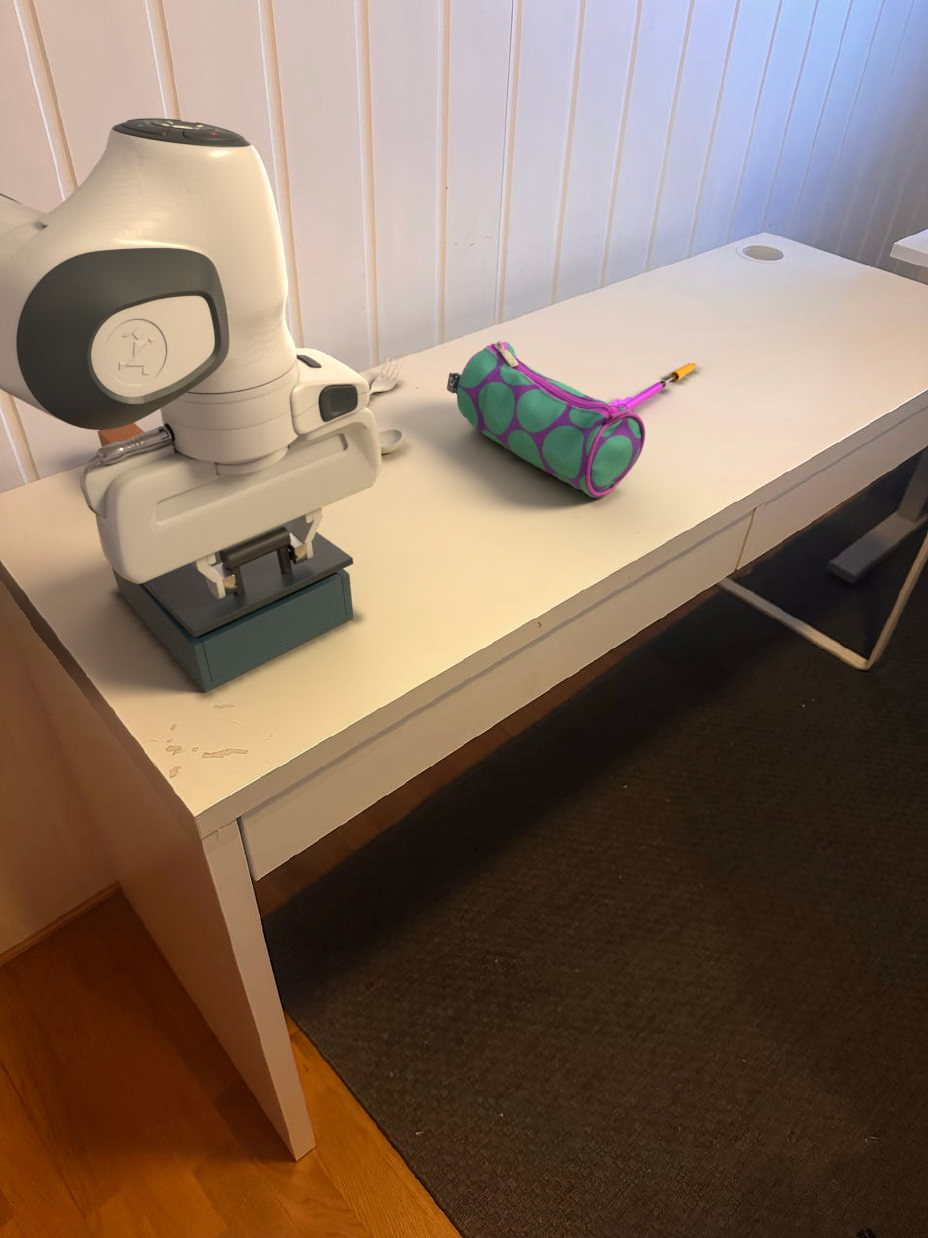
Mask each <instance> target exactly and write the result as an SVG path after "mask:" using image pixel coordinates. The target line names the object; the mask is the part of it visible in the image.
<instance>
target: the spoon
mask: <svg viewBox="0 0 928 1238" xmlns="http://www.w3.org/2000/svg"><path fill="white" fill-rule="evenodd" d="M378 433H379V440H380V447H381V455H382V454H383V455H384V454H389V453H392V452H394V451H396V450H397V449H399V448H400V447H401V446H402V445H403V443H404V440H405V437H404V436H405V435H404V433H403V432H402V431H401V430H399V429H393V428H392V429H391V428H390V429H385V430H382V431H380V432H378Z"/></svg>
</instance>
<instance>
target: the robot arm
mask: <svg viewBox="0 0 928 1238" xmlns="http://www.w3.org/2000/svg"><path fill="white" fill-rule="evenodd" d="M278 215H279V214H278V210H277V206H276V202H275V197H274V193H273V190H272V186H271V183H270V179H269V176H268V173H267V171H266V167H265V165H264V163H263V161H262V158H261V157H260V154H259V153H258V151H257V149H256V148H255V146H254V145H253V144H252V143H251V142H249V141H248V140H247V139H246V138H245V137H244V136H243V135H241V134H239V133H237V132H235V131H231V130H229V129H226V128H223V127H221V126H216V125H211V124H207V123H203V122H198V121H196V122H191V121H185V120H181V119H176V118H175V119H174V118H159V117H158V118H157V117H149V118H148V117H146V118H143V117H141V118H132V119H128V120H126V121H125V122H121V123H118V124H115V125H113V127H111V129H110V130H109V133H108V138H107V143H106V146H105V149H104V151H103V153H102V155H101V157H100V158H99V160H98V161H97V163H96V164H95V165H94V167H93V168H92V170H91V171H90V172H89V174H88V176H87V177H86V178H85V179H84V180H83V182H81V184H80V185H79V186H78V187H77V188H76V189H75V190H74V191H73V193H71V194H70V195H68V197H67V198H66V199H65V200H64V201H63V202H61V203H60V204H59V205H57V206H56V207H55V208H53V209H52V210H50V212H48V213H47V212H44V211H41V210H39V209H35V208H34V207H30V206H27V205H25V204H23V203H21V202H19V201H18V200H15V199H14V198H12V197H10V196H7V195H5V194H3V193H1V192H0V390H1V391H2V392H5V393H7V394H9V395H10V396H12V397H14V398H16V399H18V400H20V401H22V402H23V403H26V404H27V405H29V406H31V407H33V408H34V409H36V410H38V411H40V412H43V413H44V414H46V415H48V416H50V417H52V418H54V419H57V420H58V421H62V422H64V423H66V424H67V425H71V426H73V427H77V428H80V429H84V430H91V431H99V430H109V429H116V428H120V427H124V426H127V425H130V424H132V423H136V422H138V421H140V420H143V419H145V418H146V417H148V416H150V415H152V414H153V413H155V412H156V411H158V410H159V412H160V416H161V420H162V424H163V425H161V426H158V427H155V428H153V429H149V430H146V431H144V432H143V433H141V434H139V435H136V436H134V437H132V438H130V439H128V440H125V441H122V442H119V443H118V442H114V443H110V444H108V445H105V446H103V447H102V446H101V447H99V448H98V449H96V455H95V456H93V457H92V458H91V459H89V460H88V461H87V462H86V464H85V465H84V466H83V469H82V470H81V472H80V475H79V482H80V487H81V490H82V494H83V498H84V500H85V502H86V505H87V507H88V508H89V509H90V510H91V512H92V513H94V514H95V522H96V527H97V532H98V536H99V537H98V538H99V542H100V546H101V549H102V553H103V555H104V557H105V559H106V560H107V563H109V565H110V567H111V568H112V567H113V568H114V570H115V571H116V572H117V573H118V574H119V575H120V576H121V577H123V578H125V579H127V580H129V581H131V582H133V583H136V584H141V583H144V582H147V581H149V580H151V579H154V578H156V577H159V576H161V575H163V574H166V573H168V572H170V571H173V570H175V569H177V568H180V567H182V566H185V565H187V564H189V563H191V564H192V565H193V566H194V567H195V568H196V569H197V570H198V571H200V572H201V573H202V574H203V575H205V577H206V581H207V585H208V587H209V589H210V591H211V593H212V594H213V595H214V596H215V597H216V598H217V599H221V598H223V597H226V596H228V595H230V594H232V593H234V592H237V586H236V585H235V582H236V580H235V575H234V574H233V573H232V572H231V571H230V570H227V567H226V566H225V565H224V564H223V563H220V564H218V565H215V566H213V567H212V566H211V564H214V563H215V562H216V559H215V554H214V553H215V552H218V551H220V550H222V549H225V548H227V547H230V546H232V545H234V544H237V543H239V542H241V541H244V540H246V539H249V538H251V537H253V536H256V535H258V534H260V533H263V532H265V531H268V530H270V529H272V528H275V527H277V526H279V525H282V524H284V523H286V522H289V521H291V520H294V519H295V522H294V525H293V528H292V531H291V533H290V534H289V535H290V538H291V543H290V545H288V551H289V556H290V560H292V562H293V563H294V564H295V565H296V564H298V563H301V562H303V561H305V560H308V559H310V558H312V557H313V550H312V542H311V540H313V538H314V536H315V533H316V532H318V529H319V528H320V524H321V522H322V520H323V517H324V516H323V508H325V507H326V506H327V507H328V506H330V505H331V504H334V503H337V502H339V501H341V500H343V499H346V498H348V497H350V496H353V495H356V494H358V493H360V492H362V491H365V490H368V489H370V488H372V487H373V486H374V485H375V484H376V483H377V480H378V478H379V477H380V475H381V473H382V470H383V469H382V467H383V459H382V453H381V447H380V440H379V433H380V432H379V428H378V422H377V420H376V417H375V415H374V414H373V412H372V411H371V410H370V409H369V408H368V407H367V406H368V404H369V402H370V398H371V397H370V396H371V394H370V390H371V389H370V385H369V382H368V381H367V380H366V379H365V378H364V377H363V376H361V375H360V374H359V373H358V372H356V371H355V370H353V368H351V367H349V366H348V365H346V364H345V363H343V362H341V361H339V360H338V359H336V358H334V357H332V356H330V355H329V354H326V353H325V352H322V351H320V350H317V349H314V348H307V347H305V348H303V347H302V348H301V347H296V345H295V342H294V340H293V338H292V335H291V333H290V331H289V328H288V325H287V321H286V319H287V318H286V304H287V297H288V292H289V282H288V274H287V266H286V258H285V251H284V244H283V236H282V231H281V225H280V220H279V216H278Z"/></svg>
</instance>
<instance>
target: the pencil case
mask: <svg viewBox="0 0 928 1238" xmlns="http://www.w3.org/2000/svg"><path fill="white" fill-rule="evenodd" d="M446 390H447V391H448V392H449V393H450V394H455V395H456V402H457V403H456V404H457V407H458V410H459V412H460V414H461V415H462V416H463V417H464V418H465V419H466V420H467V422H468V423H470V424H471V425H472V426H473V427H474V428H475V429H476V430H478V431H479V432H480V433H482V435H484V436H486V437H488V438H489V439H490V440H492V441H494V442H496V443H497V444H500V445H501V446H503V448H504V449H507V450H508V451H509V452H511V453H513V454H515V455H516V456H518V457H519V458H521V459H522V460H524V461H526V462H528V463H530V464H531V465H533V466H535V467H536V468H539V469H540V470H541V471H543V472H544V473H547V474H549V475H551V476H553V477H555V478H557V479H558V480H560V481H561V482H564V483H567V484H569V485H570V486H572V488H574V489H576V490H581V491H582V492H583V493H585V494H586V495H587V496H589V497H591V498H594V499H599V498H604V497H607V496H608V495H609V494H611V493H612V492H613V491H614V490H615V489H616V488H617V486H619V484H620V482H622V481H623V479H625V477H627V475H628V474H629V473H630V471H631V470H632V469H633V467H634V466H635V465H636V463H637V462H638V460H639V458H640V456H641V455H642V454H641V453H642V452H643V448H644V445H645V440H646V428H645V424H644V421H643V420H642V418H641V417H640V416H639V415H638V414H637V413H636V412H634V411H632V410H628V409H625V408H622V407H618V406H611V405H609V404H610V403H608V402H606V401H604V400H601V399H597V398H594V397H591V396H589V395H587V394H585V393H583V392H581V391H579V390H578V389H575V388H574V387H572V386H570V385H567V384H566V383H563V382H561V381H558V380H556V379H553V378H550V377H548V376H545V375H544V374H542V373H540V372H539V371H537V370H534V369H533V368H532V367H530V366H528V365H527V364H526V363H524V362H523V361H521V360H520V359H519V357H518V356H517V354H516V352H515V349H514V347H513V346H512V345H511V344H510V343H509V342H507V341H501V340H498V341H496V342H495V343H493V342H492V343H490V344H489V345H487V346H485V347H484V348H482V349H481V350H479V351H477V352H476V353H475V354H473V355H472V356H471V357H470V358H469V360H468V361H467V363H466V364H465V366H464V368H463V370H462V372H461V374H460V373H459V372H449V374H448V379H447V383H446Z"/></svg>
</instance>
